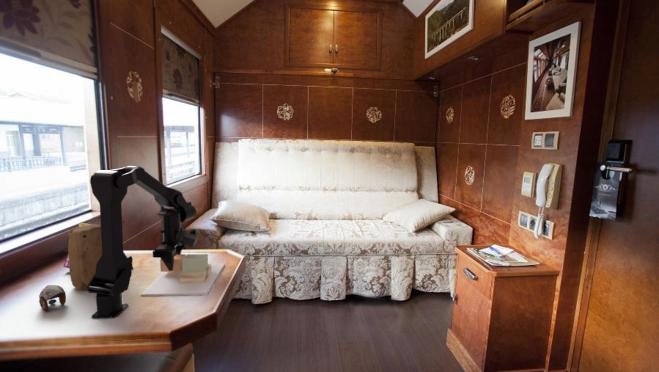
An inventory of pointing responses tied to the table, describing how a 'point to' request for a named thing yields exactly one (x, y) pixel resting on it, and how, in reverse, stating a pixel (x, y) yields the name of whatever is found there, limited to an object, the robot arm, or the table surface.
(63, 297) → the helmet
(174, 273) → the baseplate
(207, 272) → the foundation slab
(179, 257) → the terracotta block
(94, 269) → the block
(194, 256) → the sage block
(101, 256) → the robot arm
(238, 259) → the table surface
